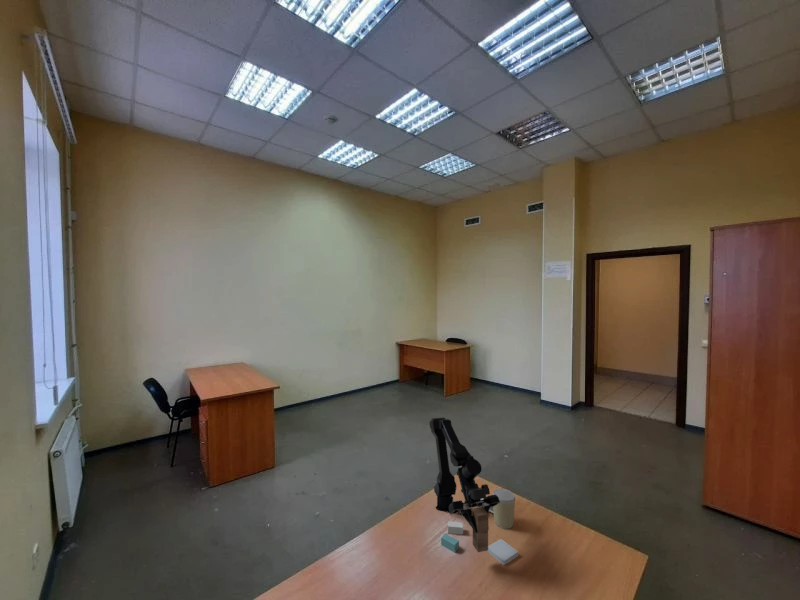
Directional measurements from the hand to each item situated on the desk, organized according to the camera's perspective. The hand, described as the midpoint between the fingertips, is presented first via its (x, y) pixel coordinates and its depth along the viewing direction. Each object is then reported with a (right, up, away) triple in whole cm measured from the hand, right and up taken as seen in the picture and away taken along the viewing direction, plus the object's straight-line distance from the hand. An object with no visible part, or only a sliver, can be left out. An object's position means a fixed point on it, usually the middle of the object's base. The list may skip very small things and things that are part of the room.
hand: (482, 531), depth 117 cm
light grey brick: (-7, -13, +18) cm, 23 cm away
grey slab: (+9, -13, +6) cm, 17 cm away
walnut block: (0, -7, +1) cm, 7 cm away
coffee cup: (+15, -13, +23) cm, 30 cm away
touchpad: (+13, -13, +33) cm, 38 cm away
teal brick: (-10, -13, +9) cm, 19 cm away
